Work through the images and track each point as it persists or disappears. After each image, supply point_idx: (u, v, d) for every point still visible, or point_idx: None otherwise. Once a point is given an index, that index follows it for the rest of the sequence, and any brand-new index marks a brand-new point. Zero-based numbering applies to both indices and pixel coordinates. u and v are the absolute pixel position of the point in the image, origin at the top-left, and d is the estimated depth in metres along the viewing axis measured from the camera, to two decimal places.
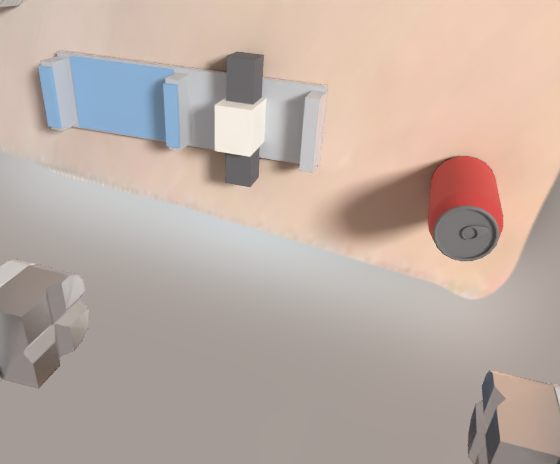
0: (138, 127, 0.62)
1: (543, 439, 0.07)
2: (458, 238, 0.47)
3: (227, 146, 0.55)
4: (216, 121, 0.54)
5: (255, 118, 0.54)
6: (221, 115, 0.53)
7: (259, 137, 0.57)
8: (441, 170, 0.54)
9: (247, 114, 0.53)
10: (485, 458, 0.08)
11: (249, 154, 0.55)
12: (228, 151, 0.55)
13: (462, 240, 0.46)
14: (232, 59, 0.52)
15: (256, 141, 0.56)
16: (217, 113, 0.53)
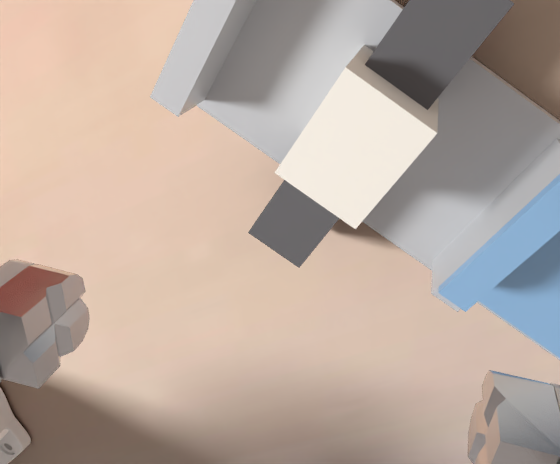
0: None
1: (543, 439, 0.07)
2: None
3: (391, 125, 0.19)
4: (376, 196, 0.20)
5: None
6: (354, 201, 0.20)
7: None
8: None
9: (289, 169, 0.21)
10: (485, 458, 0.08)
11: (343, 73, 0.18)
12: (398, 111, 0.18)
13: None
14: (290, 257, 0.25)
15: None
16: (362, 211, 0.21)
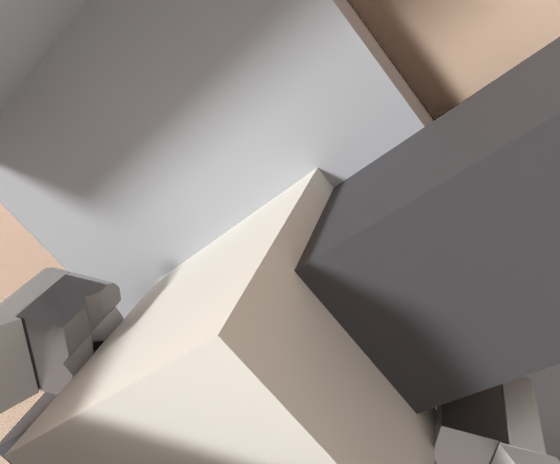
0: None
1: (483, 424, 0.08)
2: None
3: None
4: None
5: (100, 365, 0.09)
6: None
7: (243, 242, 0.09)
8: None
9: None
10: None
11: (209, 346, 0.06)
12: None
13: None
14: None
15: (232, 265, 0.08)
16: None
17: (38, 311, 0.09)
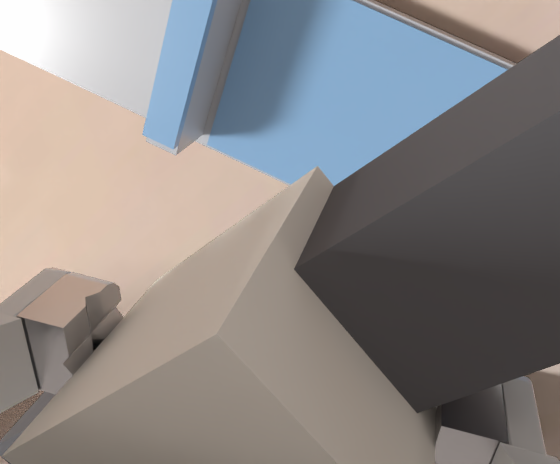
0: (361, 38, 0.21)
1: (483, 424, 0.08)
2: None
3: None
4: None
5: (98, 365, 0.09)
6: None
7: (242, 241, 0.09)
8: None
9: None
10: None
11: (208, 344, 0.06)
12: None
13: None
14: None
15: (231, 263, 0.08)
16: None
17: (38, 311, 0.09)
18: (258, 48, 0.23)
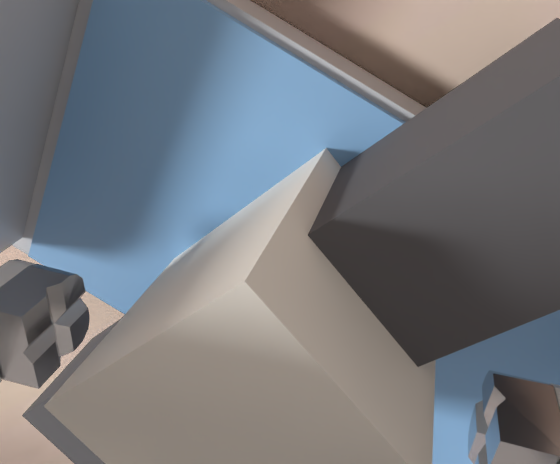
0: (299, 128, 0.11)
1: (543, 439, 0.07)
2: None
3: (325, 435, 0.07)
4: None
5: (129, 326, 0.09)
6: None
7: (259, 214, 0.10)
8: None
9: (75, 414, 0.09)
10: (485, 458, 0.08)
11: (236, 291, 0.07)
12: (351, 418, 0.07)
13: None
14: None
15: (250, 232, 0.09)
16: None
17: None
18: (106, 114, 0.12)
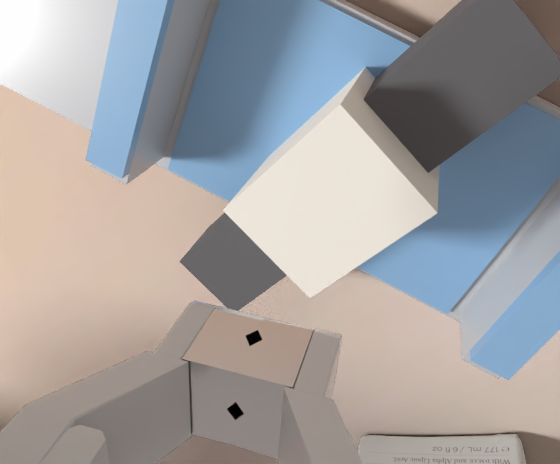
0: (348, 56, 0.18)
1: (276, 371, 0.08)
2: None
3: (381, 190, 0.14)
4: (344, 267, 0.16)
5: (262, 169, 0.17)
6: (315, 266, 0.16)
7: (331, 102, 0.17)
8: None
9: (241, 211, 0.16)
10: None
11: (335, 111, 0.14)
12: (394, 175, 0.14)
13: None
14: (225, 300, 0.20)
15: (330, 105, 0.16)
16: (322, 279, 0.16)
17: (203, 352, 0.09)
18: (227, 61, 0.19)
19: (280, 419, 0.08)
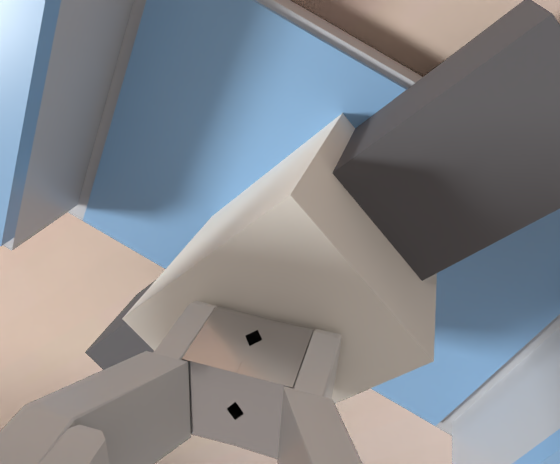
0: (319, 97, 0.13)
1: (276, 371, 0.08)
2: None
3: (351, 321, 0.09)
4: None
5: (186, 257, 0.12)
6: None
7: (290, 165, 0.12)
8: None
9: (148, 323, 0.11)
10: None
11: (283, 204, 0.09)
12: (371, 304, 0.09)
13: None
14: None
15: (285, 175, 0.11)
16: None
17: (203, 352, 0.09)
18: (156, 91, 0.14)
19: (280, 419, 0.08)
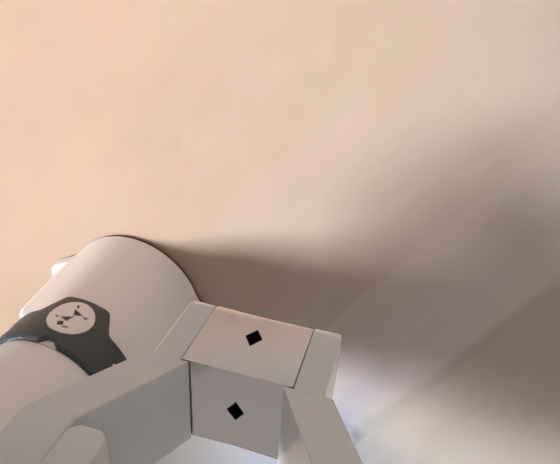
0: None
1: (276, 371, 0.08)
2: None
3: None
4: None
5: None
6: None
7: None
8: None
9: None
10: None
11: None
12: None
13: None
14: None
15: None
16: None
17: (203, 352, 0.09)
18: None
19: (280, 419, 0.08)
